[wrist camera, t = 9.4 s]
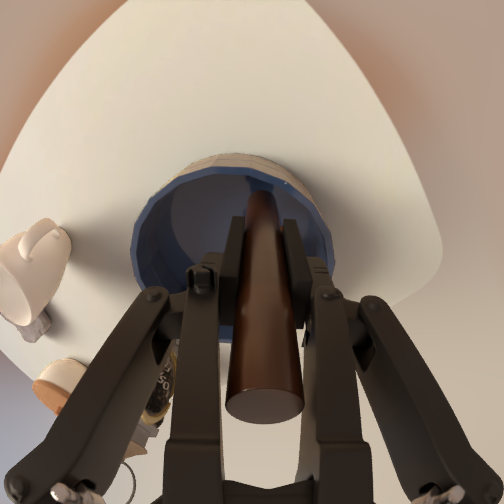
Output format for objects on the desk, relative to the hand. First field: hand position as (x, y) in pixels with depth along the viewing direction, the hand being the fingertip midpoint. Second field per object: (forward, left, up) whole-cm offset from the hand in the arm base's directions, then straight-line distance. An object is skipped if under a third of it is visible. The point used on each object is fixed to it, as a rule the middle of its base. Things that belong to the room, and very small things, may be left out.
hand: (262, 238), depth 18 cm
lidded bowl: (+32, +34, -10) cm, 48 cm away
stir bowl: (+2, +5, -10) cm, 11 cm away
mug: (+23, +5, -10) cm, 26 cm away
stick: (0, 0, -6) cm, 6 cm away
